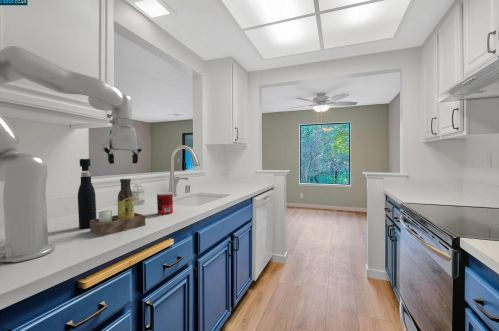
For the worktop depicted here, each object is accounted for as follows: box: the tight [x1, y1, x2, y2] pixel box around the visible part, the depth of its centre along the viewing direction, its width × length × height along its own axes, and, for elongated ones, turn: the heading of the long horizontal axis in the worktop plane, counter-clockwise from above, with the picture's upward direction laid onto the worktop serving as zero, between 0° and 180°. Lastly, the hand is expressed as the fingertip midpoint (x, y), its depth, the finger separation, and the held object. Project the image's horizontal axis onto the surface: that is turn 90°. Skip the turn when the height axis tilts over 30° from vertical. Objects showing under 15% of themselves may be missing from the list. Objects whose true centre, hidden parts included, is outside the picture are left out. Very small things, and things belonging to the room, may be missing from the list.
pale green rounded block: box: [98, 210, 113, 224], centre depth 95 cm, size 5×5×7 cm
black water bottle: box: [77, 158, 97, 230], centre depth 101 cm, size 6×6×30 cm
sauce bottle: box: [117, 178, 135, 220], centre depth 101 cm, size 6×6×20 cm
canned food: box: [156, 191, 174, 216], centre depth 125 cm, size 8×8×11 cm
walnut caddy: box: [89, 212, 146, 237], centre depth 99 cm, size 17×12×4 cm, turn 142°
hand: (123, 163), depth 100 cm, fingers open, 9 cm apart
